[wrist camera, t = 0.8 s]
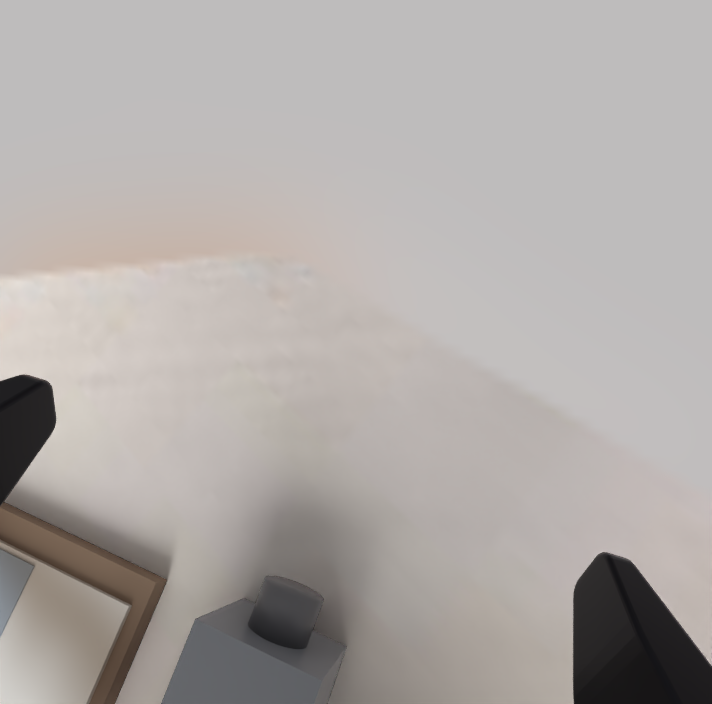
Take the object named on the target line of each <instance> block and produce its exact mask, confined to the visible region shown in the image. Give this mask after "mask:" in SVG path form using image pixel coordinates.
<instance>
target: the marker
mask: <svg viewBox="0 0 712 704" xmlns="http://www.w3.org/2000/svg"><path fill="white" fill-rule="evenodd" d="M323 600H324V599H323V597H322V596H321V595H320V594H318V593H317V592H315V591H314V590H312V589H310V588H308V587H306V586H304V585H302V584H300V583H297V582H295V581H292V580H289V579H286V578H282V577H278V576H266V577H265V579H264V582H263V584H262V587H261V590H260V592H259V595H258V597H257V600H256V603H253V602H251V601H249V600H247V599H241V600H239V601H237V602H234V603H232V604H230V605H227V606H225V607H223V608H220V609H218V610H215V611H213V612H211V613H208V614H206V615H204V616H201V617H199V618H197V619H195V621H194V624H193V626H192V629H191V631H190V634H189V636H188V639H187V641H186V644H185V646H184V649H183V651H182V653H181V656H180V658H179V661H178V663H177V666H176V668H175V671H174V673H173V676H172V678H171V681H170V683H169V685H168V688H167V690H166V693H165V695H164V698H163V700H162V703H161V704H327V703H328V700H329V697H330V694H331V692H332V689H333V686H334V683H335V680H336V677H337V674H338V671H339V668H340V665H341V662H342V659H343V656H344V653H345V650H346V647H347V646H345V645H343V644H341V643H339V642H337V641H335V640H333V639H330V638H328V637H326V636H324V635H322V634H320V633H318V632H315V631H313V629H314V626H315V623H316V620H317V617H318V614H319V612H320V609H321V606H322V603H323Z"/></svg>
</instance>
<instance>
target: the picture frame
mask: <svg viewBox="0 0 712 704" xmlns="http://www.w3.org/2000/svg"><path fill="white" fill-rule="evenodd" d="M166 582H167V580H166V579H164V578H162V577H160V576H158V575H156V574H154V573H151V572H149V571H147V570H145V569H143V568H141V567H139V566H137V565H135V564H133V563H130V562H128V561H126V560H124V559H122V558H120V557H118V556H116V555H114V554H112V553H109V552H107V551H105V550H103V549H101V548H99V547H97V546H95V545H93V544H91V543H89V542H86V541H84V540H82V539H80V538H78V537H76V536H74V535H72V534H70V533H68V532H65V531H63V530H61V529H59V528H57V527H55V526H53V525H51V524H49V523H47V522H44V521H42V520H40V519H38V518H36V517H34V516H32V515H30V514H28V513H26V512H24V511H21V510H19V509H17V508H15V507H13V506H11V505H9V504H7V503H5V502H3V503H2V505H1V506H0V704H115V701H116V699H117V697H118V694H119V692H120V690H121V687H122V685H123V683H124V680H125V678H126V676H127V673H128V671H129V668H130V666H131V664H132V661H133V659H134V657H135V654H136V652H137V650H138V647H139V645H140V643H141V640H142V638H143V636H144V633H145V631H146V629H147V626H148V624H149V622H150V619H151V617H152V614H153V612H154V610H155V607H156V605H157V603H158V600H159V598H160V596H161V593H162V591H163V589H164V586H165V584H166Z"/></svg>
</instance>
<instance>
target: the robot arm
mask: <svg viewBox="0 0 712 704" xmlns="http://www.w3.org/2000/svg"><path fill="white" fill-rule="evenodd" d="M55 424H56V412H55V405H54V397H53V389H52V386H51V385H50V383H49V382H48V381H46V380H43V379H39V378H36V377H33V376H30V375H19V376H15V377H12V378H9V379H6V380H3V381H0V506H1V505H2V503H3V502H4V501H5V499H6V498H7V497H8V495H9V494H10V492H11V491H12V489H13V488H14V487H15V485H16V484H17V482H18V481H19V479H20V478H21V477H22V475H23V474H24V472H25V471H26V469H27V468H28V467H29V465H30V464H31V462H32V461H33V460H34V458H35V457H36V455H37V454H38V452H39V451H40V450H41V448H42V447H43V445H44V444H45V442H46V441H47V440H48V438H49V437H50V435H51V434H52V432H53V430H54V428H55ZM573 695H574V704H712V666H711V664H710V663H709V662H708V661H707V659H706V658H705V657H704V655H703V654H702V653H701V651H700V650H699V649H698V647H697V646H696V645H695V643H694V642H693V641H692V640H691V638H690V637H689V636H688V634H687V633H686V632H685V630H684V629H683V628H682V626H681V625H680V624H679V623H678V621H677V620H676V619H675V617H674V616H673V615H672V613H671V612H670V611H669V609H668V608H667V607H666V605H665V604H664V603H663V602H662V600H661V599H660V598H659V596H658V595H657V594H656V592H655V591H654V590H653V588H652V587H651V586H650V585H649V583H648V582H647V581H646V579H645V578H644V577H643V575H642V574H641V573H640V571H639V570H638V569H637V567H636V566H635V565H634V564H633V563H632V562H631V561H630V560H628V559H626V558H623V557H620V556H617V555H614V554H610V553H607V552H603V553H600V554H598V555H597V556H596V558H595V559H594V560H593V562H592V563H591V564H590V565H589V567H588V568H587V569H586V570H585V572H584V573H583V574H582V576H581V577H580V578H579V579H578V581H577V583H576V585H575V589H574V597H573Z"/></svg>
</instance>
